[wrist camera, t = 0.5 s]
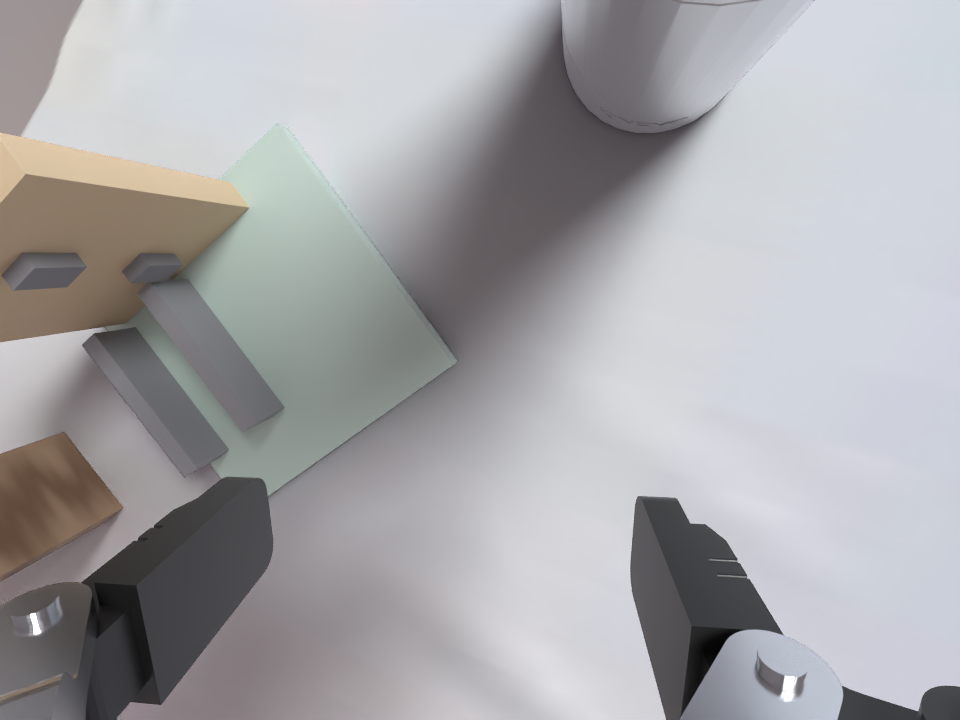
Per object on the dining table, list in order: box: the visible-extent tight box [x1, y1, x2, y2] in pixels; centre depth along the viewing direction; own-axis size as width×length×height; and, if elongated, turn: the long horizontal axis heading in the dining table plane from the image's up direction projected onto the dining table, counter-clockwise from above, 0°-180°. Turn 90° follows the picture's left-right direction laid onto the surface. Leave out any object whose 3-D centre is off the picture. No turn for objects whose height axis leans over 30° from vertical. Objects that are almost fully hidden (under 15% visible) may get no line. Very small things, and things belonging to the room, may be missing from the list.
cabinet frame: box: [0, 123, 457, 496], centre depth 26 cm, size 17×18×14 cm
